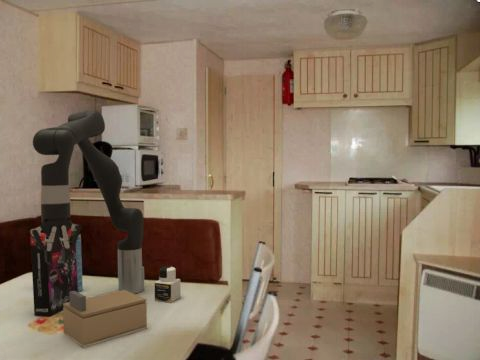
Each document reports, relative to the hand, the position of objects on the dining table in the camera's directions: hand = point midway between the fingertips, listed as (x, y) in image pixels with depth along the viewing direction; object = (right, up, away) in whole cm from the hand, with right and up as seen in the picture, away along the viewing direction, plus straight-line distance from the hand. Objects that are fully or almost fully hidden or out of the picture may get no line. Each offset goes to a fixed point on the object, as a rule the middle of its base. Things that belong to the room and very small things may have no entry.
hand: (57, 262), depth 121 cm
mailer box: (+10, -23, +10) cm, 27 cm away
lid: (+10, -14, +10) cm, 20 cm away
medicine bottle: (+24, -22, +41) cm, 52 cm away
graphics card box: (-14, -22, +32) cm, 41 cm away
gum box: (-22, -22, +54) cm, 62 cm away
